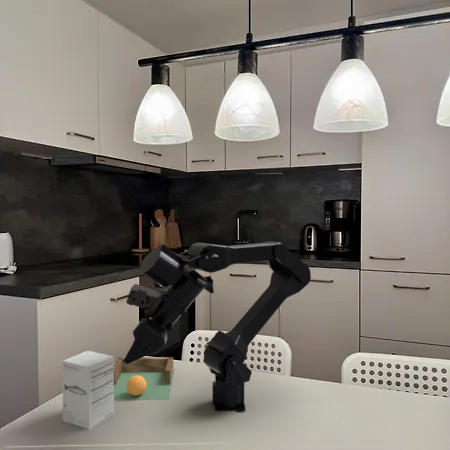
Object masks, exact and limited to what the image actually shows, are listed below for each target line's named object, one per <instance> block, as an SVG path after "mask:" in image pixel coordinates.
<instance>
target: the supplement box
mask: <svg viewBox="0 0 450 450" xmlns="http://www.w3.org/2000/svg"><path fill="white" fill-rule="evenodd" d="M114 364H115V356H113V355H111V354H110V355H109V354H105V353H100V352H97V351H96V352H95V351H92V350H86V351H84V352H80V353H79V354H75V355H73V356H72V357H69V358H65V359H64V360H62V421H63V422H65V423H69V424H72V425H75V426H78V427H81V428H84V429H86V430H90V429H92V428H93V427H95V426H97V425H98V424H100V423H101V422H104V421H105V420H106V419H107V418H110V417H112V415H114V414H115V413H114V412H115V400H114Z"/></svg>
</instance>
